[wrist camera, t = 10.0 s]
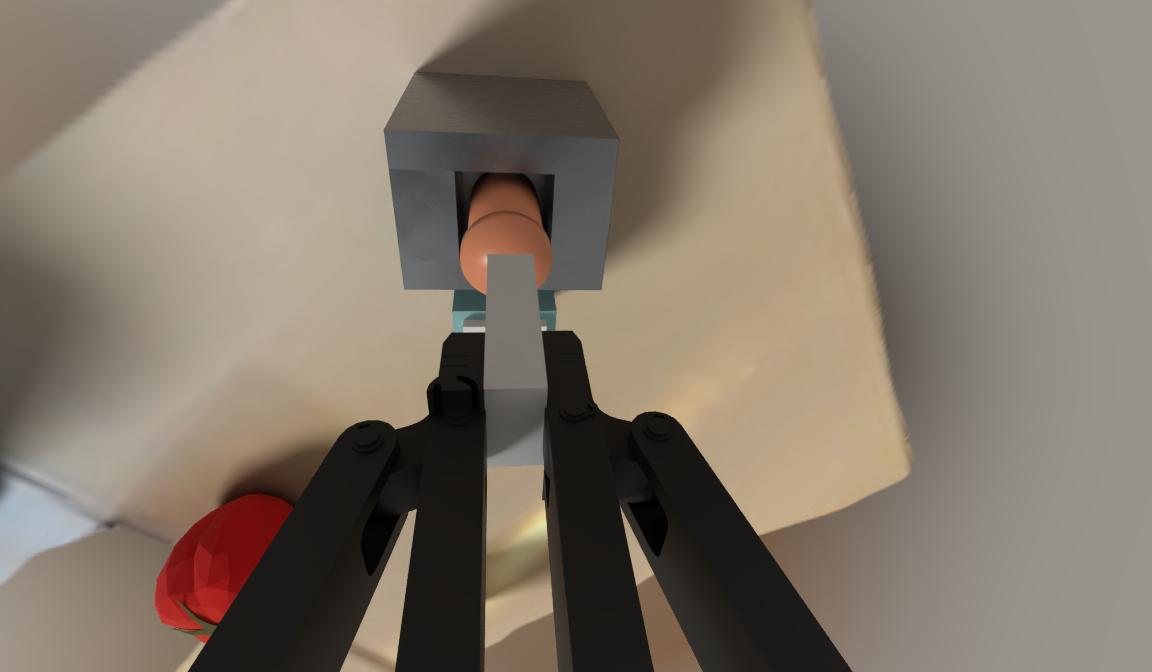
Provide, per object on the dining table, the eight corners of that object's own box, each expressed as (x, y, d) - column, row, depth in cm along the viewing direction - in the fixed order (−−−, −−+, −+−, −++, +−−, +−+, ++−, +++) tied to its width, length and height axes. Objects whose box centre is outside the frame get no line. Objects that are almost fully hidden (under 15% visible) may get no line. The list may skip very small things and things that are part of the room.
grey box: (426, 200, 33) (404, 289, 25) (414, 72, 28) (383, 129, 20) (582, 204, 34) (609, 290, 26) (593, 82, 30) (629, 139, 22)
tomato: (330, 476, 46) (294, 596, 38) (331, 562, 53) (301, 679, 45) (177, 467, 43) (103, 594, 35) (200, 558, 50) (143, 682, 42)
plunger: (467, 233, 26) (462, 299, 21) (464, 161, 24) (457, 216, 19) (540, 235, 26) (550, 299, 22) (544, 164, 24) (554, 219, 20)
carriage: (465, 311, 37) (458, 410, 29) (461, 229, 33) (451, 318, 26) (540, 311, 37) (551, 408, 30) (543, 231, 34) (557, 317, 26)
